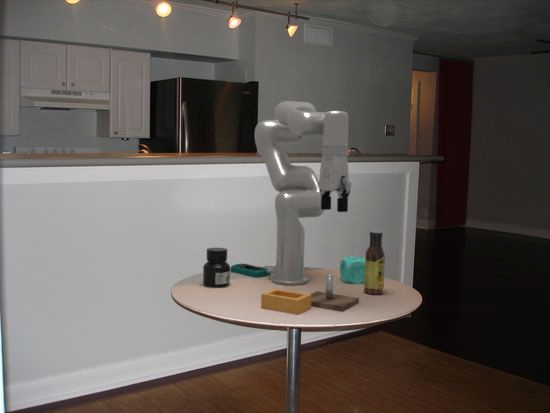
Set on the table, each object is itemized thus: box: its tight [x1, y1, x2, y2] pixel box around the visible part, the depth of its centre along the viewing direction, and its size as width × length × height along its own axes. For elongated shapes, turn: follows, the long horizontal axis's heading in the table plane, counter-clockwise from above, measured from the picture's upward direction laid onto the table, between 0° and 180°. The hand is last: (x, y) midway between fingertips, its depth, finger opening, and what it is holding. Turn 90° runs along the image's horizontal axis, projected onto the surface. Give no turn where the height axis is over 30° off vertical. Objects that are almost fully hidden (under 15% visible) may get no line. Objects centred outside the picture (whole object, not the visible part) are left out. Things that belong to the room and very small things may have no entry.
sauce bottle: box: [363, 230, 386, 295], centre depth 193 cm, size 6×6×20 cm
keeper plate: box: [310, 273, 360, 313], centre depth 179 cm, size 14×12×9 cm
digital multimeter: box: [230, 263, 272, 279], centre depth 219 cm, size 7×15×3 cm, turn 46°
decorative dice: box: [339, 256, 366, 285], centre depth 210 cm, size 8×8×8 cm
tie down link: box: [260, 288, 312, 315], centre depth 173 cm, size 12×8×4 cm, turn 60°
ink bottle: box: [202, 247, 231, 288], centre depth 199 cm, size 10×9×12 cm
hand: (334, 210), depth 179 cm, fingers open, 9 cm apart
